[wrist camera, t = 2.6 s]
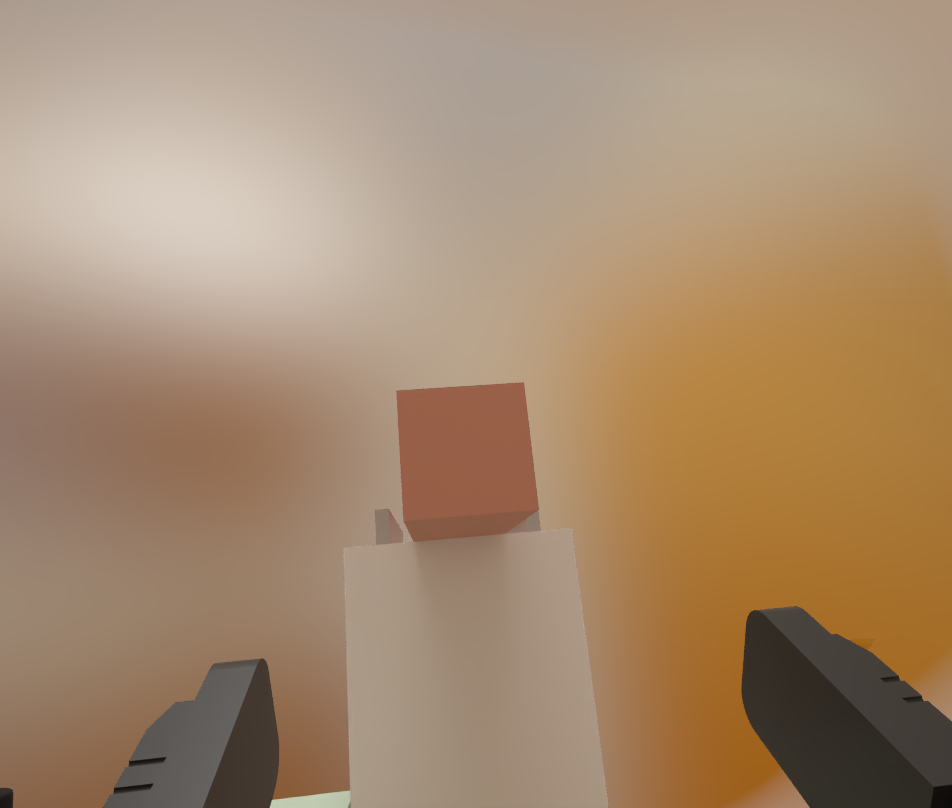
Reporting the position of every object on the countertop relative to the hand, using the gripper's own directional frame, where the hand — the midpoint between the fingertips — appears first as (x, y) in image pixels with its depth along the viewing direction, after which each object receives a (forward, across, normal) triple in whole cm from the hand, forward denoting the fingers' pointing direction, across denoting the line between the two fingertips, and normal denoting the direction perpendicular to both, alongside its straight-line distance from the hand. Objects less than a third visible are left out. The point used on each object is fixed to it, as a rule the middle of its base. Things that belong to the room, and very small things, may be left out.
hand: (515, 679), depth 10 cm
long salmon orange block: (+17, 0, +6) cm, 18 cm away
